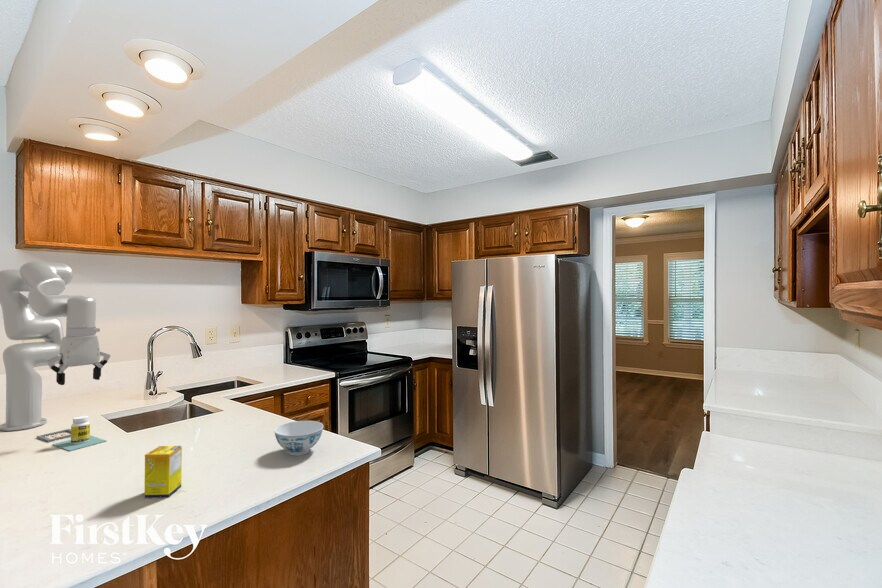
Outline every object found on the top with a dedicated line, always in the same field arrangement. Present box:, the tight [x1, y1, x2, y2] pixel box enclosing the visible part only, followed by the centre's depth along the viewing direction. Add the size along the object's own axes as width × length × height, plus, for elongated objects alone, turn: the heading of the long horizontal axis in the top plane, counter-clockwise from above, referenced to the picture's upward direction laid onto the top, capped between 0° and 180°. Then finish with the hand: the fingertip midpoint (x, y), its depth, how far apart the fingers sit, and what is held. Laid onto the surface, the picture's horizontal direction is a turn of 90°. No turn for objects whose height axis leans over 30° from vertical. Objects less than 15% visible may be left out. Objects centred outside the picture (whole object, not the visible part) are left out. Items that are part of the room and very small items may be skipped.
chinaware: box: [274, 420, 324, 456], centre depth 131 cm, size 15×15×8 cm
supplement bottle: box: [70, 415, 91, 444], centre depth 137 cm, size 5×5×8 cm
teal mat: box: [52, 434, 107, 452], centre depth 137 cm, size 12×10×1 cm
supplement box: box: [144, 445, 183, 499], centre depth 103 cm, size 6×6×11 cm
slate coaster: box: [36, 428, 71, 443], centre depth 143 cm, size 9×9×1 cm
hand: (79, 381), depth 139 cm, fingers open, 9 cm apart
